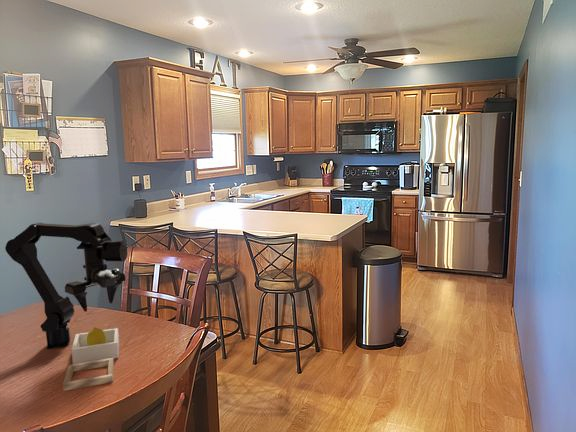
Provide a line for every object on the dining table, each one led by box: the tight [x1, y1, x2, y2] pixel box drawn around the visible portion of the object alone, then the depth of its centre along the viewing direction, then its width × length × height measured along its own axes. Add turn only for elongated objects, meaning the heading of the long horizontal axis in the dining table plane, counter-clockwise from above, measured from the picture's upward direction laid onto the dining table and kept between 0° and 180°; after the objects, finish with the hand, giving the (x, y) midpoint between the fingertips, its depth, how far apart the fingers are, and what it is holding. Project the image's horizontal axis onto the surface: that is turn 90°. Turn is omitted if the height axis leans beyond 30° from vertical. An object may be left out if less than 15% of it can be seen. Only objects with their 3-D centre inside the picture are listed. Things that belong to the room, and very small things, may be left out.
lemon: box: [87, 326, 106, 346], centre depth 144 cm, size 6×6×8 cm
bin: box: [71, 327, 120, 364], centre depth 144 cm, size 13×13×5 cm
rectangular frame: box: [62, 358, 115, 392], centre depth 129 cm, size 12×12×2 cm
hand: (98, 307), depth 150 cm, fingers open, 9 cm apart
